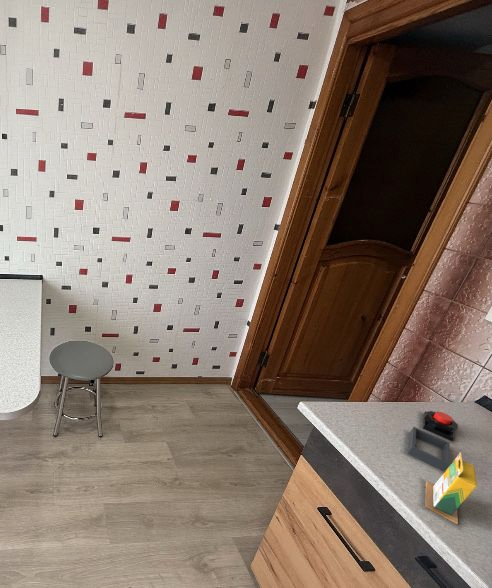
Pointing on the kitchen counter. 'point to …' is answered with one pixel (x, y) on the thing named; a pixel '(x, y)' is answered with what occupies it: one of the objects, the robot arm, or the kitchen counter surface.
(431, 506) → the mat
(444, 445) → the dock
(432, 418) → the control block
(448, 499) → the crayon box
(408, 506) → the kitchen counter surface
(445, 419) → the release button
